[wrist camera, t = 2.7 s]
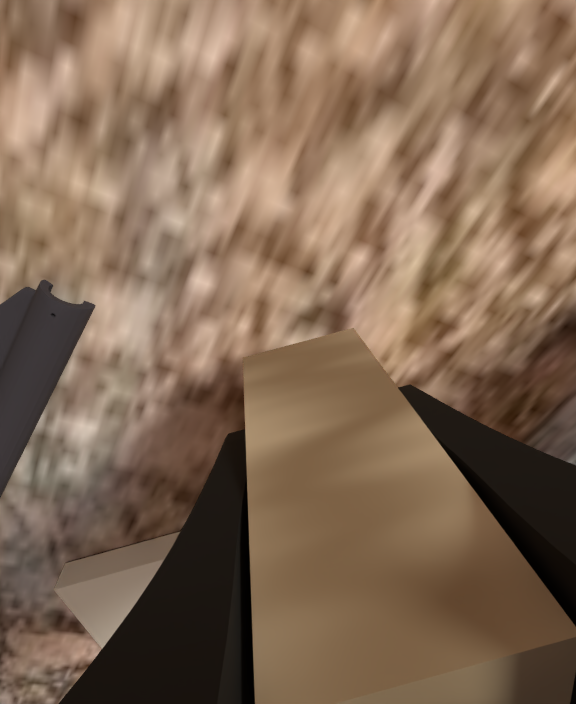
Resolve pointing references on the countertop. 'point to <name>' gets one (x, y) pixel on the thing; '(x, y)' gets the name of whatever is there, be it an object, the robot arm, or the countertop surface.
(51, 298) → the bracket
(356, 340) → the tall stone pillar
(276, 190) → the countertop surface
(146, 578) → the switch panel
